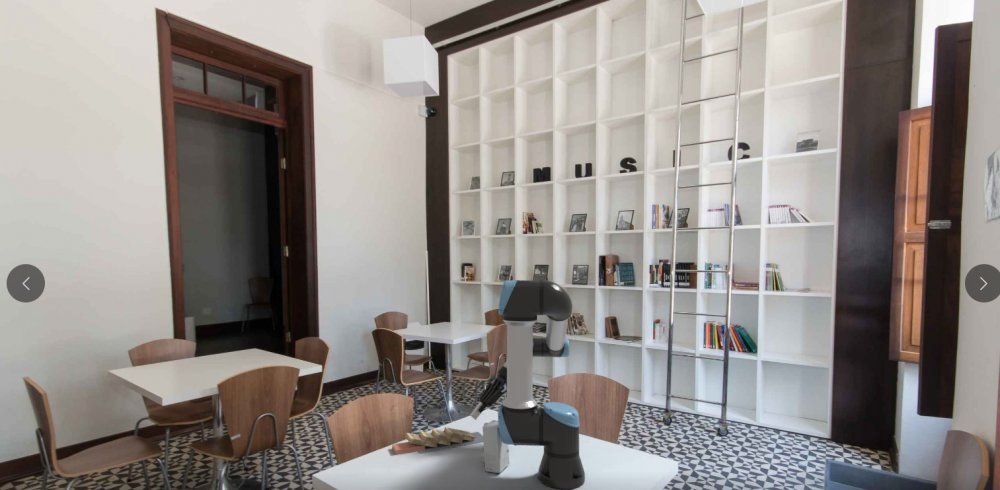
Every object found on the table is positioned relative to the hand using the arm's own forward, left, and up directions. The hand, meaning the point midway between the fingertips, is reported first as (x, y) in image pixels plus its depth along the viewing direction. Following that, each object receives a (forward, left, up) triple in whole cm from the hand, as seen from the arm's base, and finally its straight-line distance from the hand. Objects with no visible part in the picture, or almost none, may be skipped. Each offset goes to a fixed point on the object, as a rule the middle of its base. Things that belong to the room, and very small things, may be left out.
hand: (472, 417), depth 178 cm
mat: (-5, +8, -9) cm, 13 cm away
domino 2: (-9, +13, -7) cm, 17 cm away
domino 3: (-6, +9, -7) cm, 13 cm away
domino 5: (0, 0, -7) cm, 8 cm away
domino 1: (-12, +17, -7) cm, 22 cm away
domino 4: (-3, +5, -7) cm, 9 cm away
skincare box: (-23, -14, -9) cm, 29 cm away
